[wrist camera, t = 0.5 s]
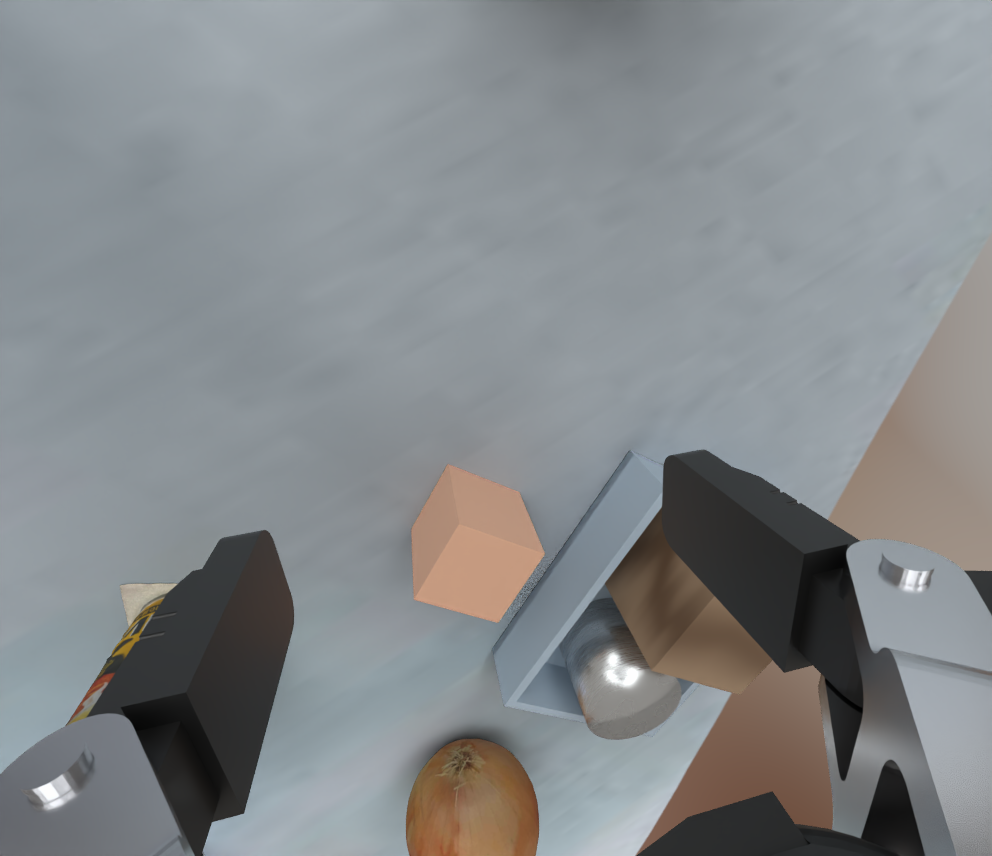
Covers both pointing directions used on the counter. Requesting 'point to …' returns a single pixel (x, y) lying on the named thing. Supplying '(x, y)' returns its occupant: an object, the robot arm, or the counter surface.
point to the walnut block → (681, 618)
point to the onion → (472, 804)
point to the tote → (577, 594)
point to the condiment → (125, 636)
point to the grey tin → (615, 675)
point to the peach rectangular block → (473, 546)
